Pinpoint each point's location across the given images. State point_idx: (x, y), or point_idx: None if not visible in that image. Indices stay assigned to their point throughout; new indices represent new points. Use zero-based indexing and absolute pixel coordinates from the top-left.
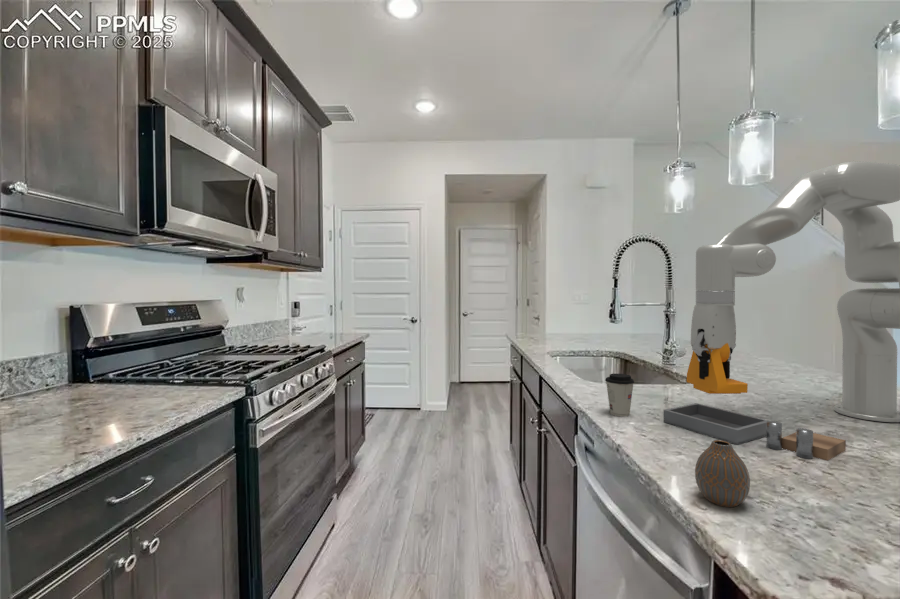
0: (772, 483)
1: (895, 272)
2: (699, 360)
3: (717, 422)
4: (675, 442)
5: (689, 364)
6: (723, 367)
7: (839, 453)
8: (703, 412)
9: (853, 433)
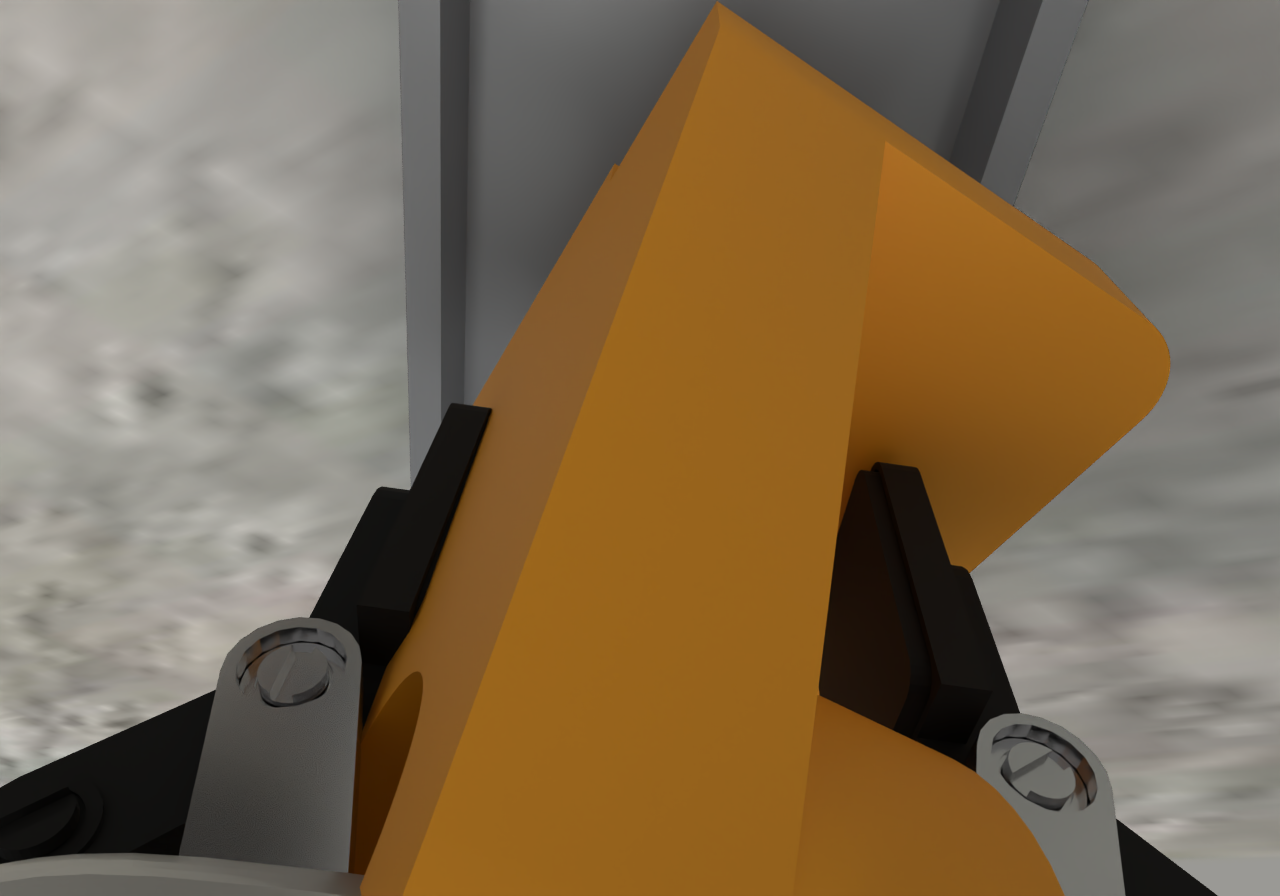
0: (101, 684)
1: None
2: (252, 663)
3: None
4: (63, 198)
5: (654, 193)
6: (841, 705)
7: None
8: (1012, 7)
9: (1265, 762)
